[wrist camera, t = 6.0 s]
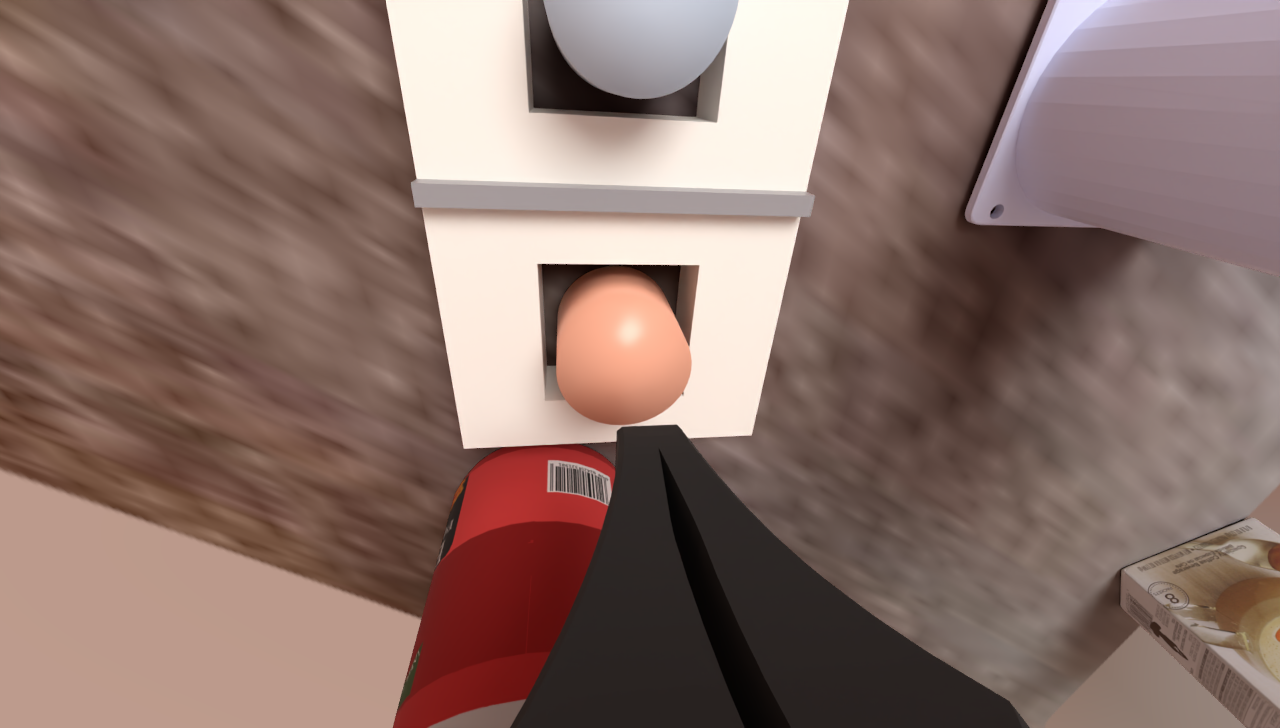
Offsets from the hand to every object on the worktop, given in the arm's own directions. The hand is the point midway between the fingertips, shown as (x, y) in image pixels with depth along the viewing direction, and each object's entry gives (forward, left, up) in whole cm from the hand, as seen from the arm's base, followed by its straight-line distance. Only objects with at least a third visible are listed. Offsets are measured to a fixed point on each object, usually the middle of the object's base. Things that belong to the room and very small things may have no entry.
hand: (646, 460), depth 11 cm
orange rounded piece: (0, 0, -7) cm, 7 cm away
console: (0, -4, -8) cm, 10 cm away
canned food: (+3, +10, -9) cm, 13 cm away
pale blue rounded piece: (0, -9, -7) cm, 12 cm away
